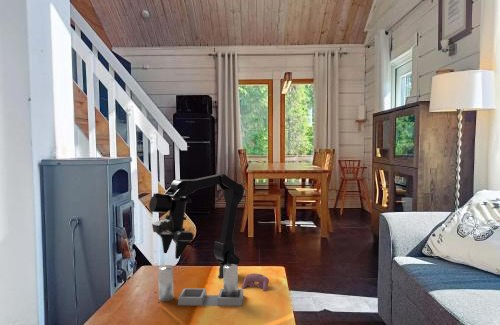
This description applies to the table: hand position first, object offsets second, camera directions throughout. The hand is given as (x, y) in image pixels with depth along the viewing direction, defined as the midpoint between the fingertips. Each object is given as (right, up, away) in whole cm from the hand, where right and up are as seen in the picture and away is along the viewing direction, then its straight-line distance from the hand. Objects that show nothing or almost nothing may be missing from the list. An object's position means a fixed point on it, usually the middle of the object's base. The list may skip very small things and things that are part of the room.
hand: (170, 255), depth 132 cm
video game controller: (+31, -14, +4) cm, 35 cm away
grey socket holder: (+16, -15, -7) cm, 23 cm away
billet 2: (+23, -14, -8) cm, 27 cm away
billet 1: (-1, -15, -5) cm, 16 cm away
